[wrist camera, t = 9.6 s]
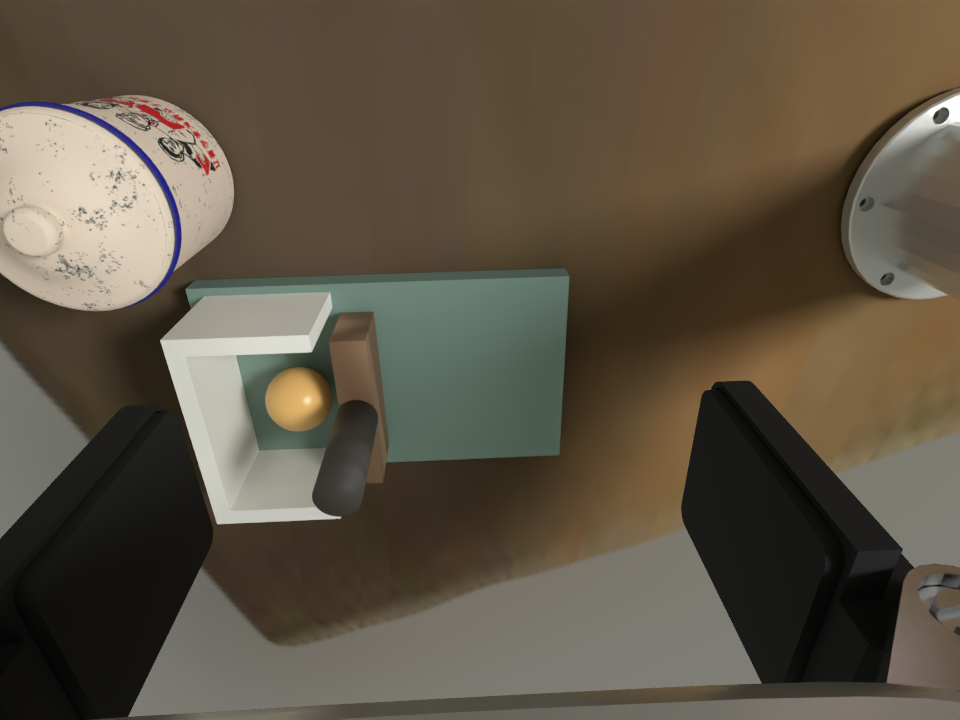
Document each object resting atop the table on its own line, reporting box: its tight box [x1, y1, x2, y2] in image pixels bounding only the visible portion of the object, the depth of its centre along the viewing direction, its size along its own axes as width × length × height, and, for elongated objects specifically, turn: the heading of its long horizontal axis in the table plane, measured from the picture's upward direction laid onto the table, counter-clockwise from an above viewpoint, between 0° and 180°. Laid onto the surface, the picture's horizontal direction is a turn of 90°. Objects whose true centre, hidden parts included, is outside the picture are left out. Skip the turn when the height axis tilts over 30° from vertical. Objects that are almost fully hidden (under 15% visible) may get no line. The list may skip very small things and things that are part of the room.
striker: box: [312, 312, 389, 517], centre depth 33 cm, size 2×10×11 cm, turn 1°
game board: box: [160, 268, 569, 524], centre depth 36 cm, size 23×14×8 cm, turn 91°
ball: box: [265, 367, 333, 431], centre depth 36 cm, size 4×4×4 cm
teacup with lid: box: [0, 95, 234, 311], centre depth 27 cm, size 12×9×12 cm
